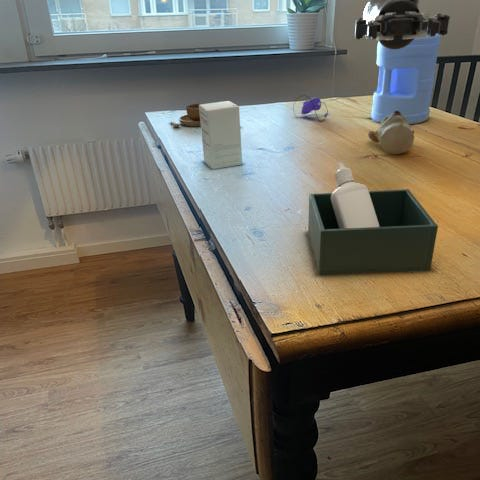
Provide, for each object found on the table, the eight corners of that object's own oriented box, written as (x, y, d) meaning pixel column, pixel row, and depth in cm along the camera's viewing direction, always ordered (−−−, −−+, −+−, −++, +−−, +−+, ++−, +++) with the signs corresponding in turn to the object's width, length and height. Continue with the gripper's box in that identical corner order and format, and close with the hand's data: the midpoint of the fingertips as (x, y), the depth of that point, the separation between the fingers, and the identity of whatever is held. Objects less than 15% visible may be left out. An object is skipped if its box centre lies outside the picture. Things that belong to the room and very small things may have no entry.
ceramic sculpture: (376, 116, 108) (368, 106, 121) (372, 157, 112) (365, 143, 125) (427, 115, 107) (414, 105, 120) (421, 156, 111) (409, 143, 124)
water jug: (398, 110, 151) (411, 1, 135) (440, 119, 139) (459, 0, 124) (359, 119, 145) (368, 5, 129) (399, 128, 133) (414, 4, 118)
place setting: (221, 115, 158) (219, 95, 155) (243, 128, 143) (242, 106, 139) (167, 122, 154) (164, 102, 150) (184, 136, 138) (181, 114, 135)
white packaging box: (233, 157, 119) (229, 100, 112) (242, 165, 113) (239, 105, 106) (203, 161, 118) (197, 103, 111) (211, 170, 112) (206, 109, 105)
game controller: (291, 102, 151) (324, 93, 150) (296, 130, 153) (329, 121, 152) (291, 97, 142) (326, 87, 140) (297, 127, 144) (332, 118, 142)
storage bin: (402, 229, 80) (408, 189, 77) (430, 270, 69) (438, 226, 65) (308, 233, 81) (309, 193, 77) (318, 275, 69) (320, 231, 66)
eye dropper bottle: (381, 230, 71) (357, 151, 72) (342, 242, 73) (319, 165, 74) (381, 234, 76) (359, 160, 76) (345, 246, 77) (323, 173, 78)
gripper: (356, 0, 88) (357, 3, 75) (441, -5, 85) (458, -3, 72) (353, 48, 92) (354, 59, 79) (434, 45, 89) (449, 55, 76)
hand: (404, 29), depth 75 cm, fingers open, 8 cm apart
